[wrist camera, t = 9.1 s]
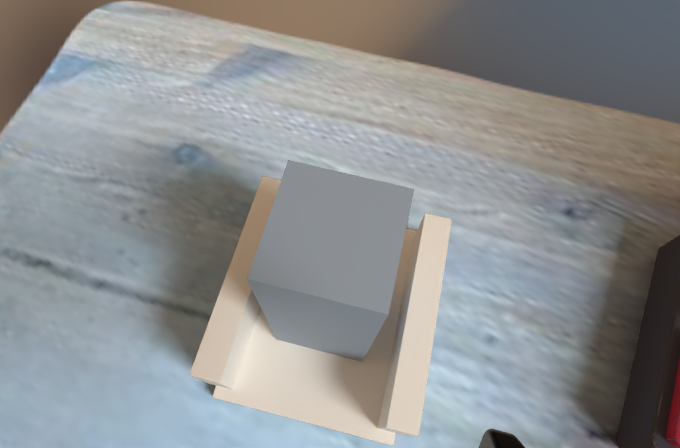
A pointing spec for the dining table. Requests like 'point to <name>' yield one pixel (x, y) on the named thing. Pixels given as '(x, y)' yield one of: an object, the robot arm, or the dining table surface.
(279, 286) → the grey rectangular prism
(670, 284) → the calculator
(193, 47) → the dining table surface
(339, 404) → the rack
